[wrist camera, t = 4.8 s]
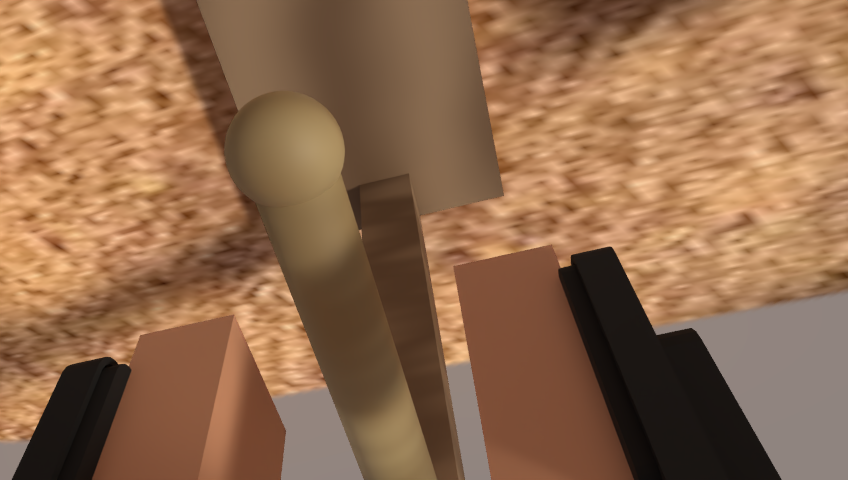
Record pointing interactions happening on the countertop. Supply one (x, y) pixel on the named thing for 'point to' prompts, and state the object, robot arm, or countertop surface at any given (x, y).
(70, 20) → the countertop surface
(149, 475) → the link
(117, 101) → the countertop surface
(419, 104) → the stand
